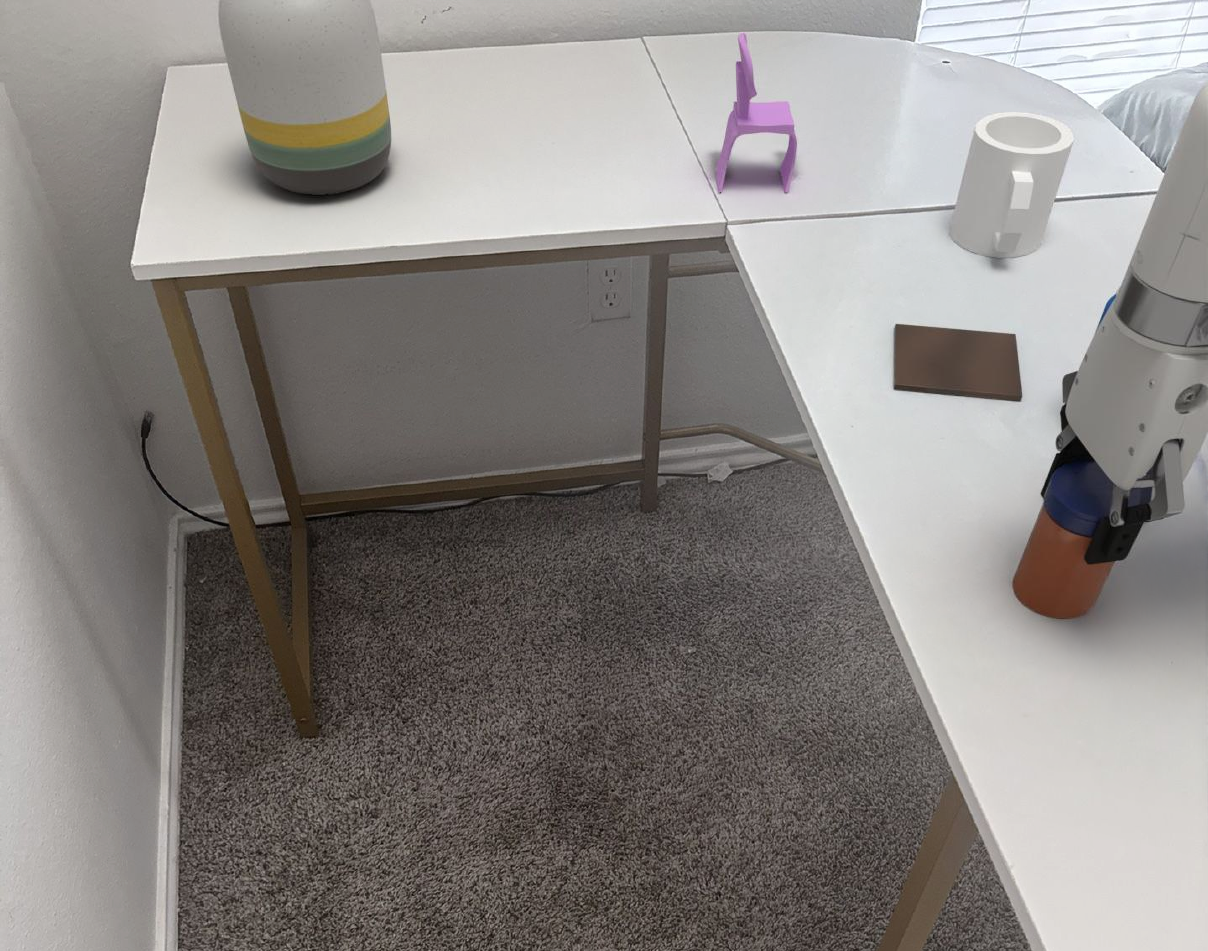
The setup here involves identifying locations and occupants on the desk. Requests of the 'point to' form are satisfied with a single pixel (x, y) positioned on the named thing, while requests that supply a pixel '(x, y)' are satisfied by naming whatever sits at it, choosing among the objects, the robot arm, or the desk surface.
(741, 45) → the toy chair
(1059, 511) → the jar lid
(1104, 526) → the robot arm
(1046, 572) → the jar
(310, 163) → the vase
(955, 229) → the mug
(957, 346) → the coaster
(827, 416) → the desk surface
